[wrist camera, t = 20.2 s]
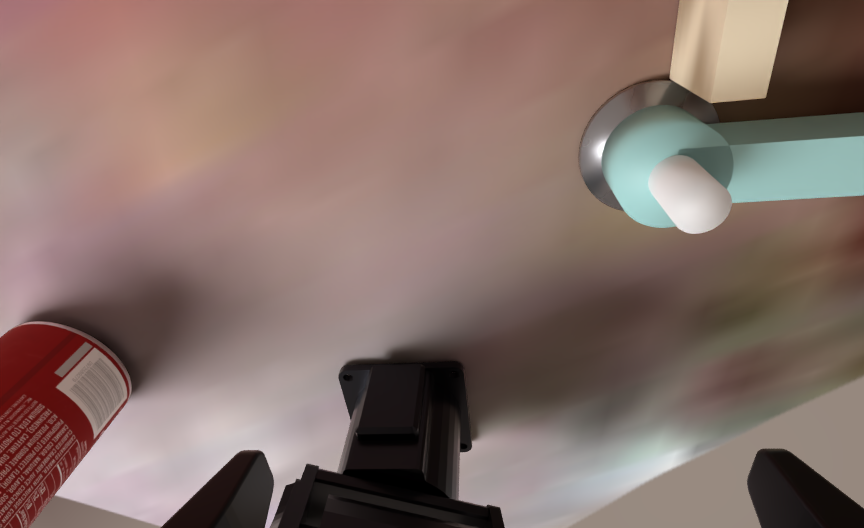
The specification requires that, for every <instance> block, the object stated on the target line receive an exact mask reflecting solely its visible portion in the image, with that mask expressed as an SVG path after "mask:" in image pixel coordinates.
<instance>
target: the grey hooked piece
mask: <svg viewBox="0 0 864 528" xmlns="http://www.w3.org/2000/svg"><path fill="white" fill-rule="evenodd" d="M656 105H670V106H676V107H679V108H682V109H684V110H686V111H687V112H689V113H691V114H692V115H693V116H695V117H696V118H698V119H699V120H701V121H702V122H703V123H705V124H715V123H720V121H719V118H718V115H717V112H716V110H715V108H714V107H713V105H712V104H711V103H709V102H708V101H706V100H704V99H703V98H701V97H699V96H698V95H696V94H694V93H693V92H691V91H689V90H688V89H686V88H684V87H683V86H681V85H679V84H678V83H676V82H674V81H672V80H651V81H645V82H642V83H638V84H635V85H632V86H630V87H628V88H625V89H624V90H622V91H620V92H618V93H617V94H615V95H614V96H613V97H611V98H610V99H608V100H607V101H606V102H605V103H604V104H603V105H602V106H601V107H600V108H599V109H598V110H597V111H596V113H595V114H594V115H593V117H592V118H591V119H590V121H589V123H588V125H587V126H586V128H585V130H584V133H583V136H582V138H581V142H580V147H579V166H580V171H581V174H582V177H583V179H584V181H585V183H586V185H587V187H588V189H589V190H590V191H591V193H592V194H593V195H594V196H595V197H596V198H597V199H599V200H600V201H601V202H603V203H604V204H606V205H608V206H610V207H612V208H615V209H618V210H622V211H624V209H623V208H622V206H621V205H620V203H619V201H618V200H617V198H616V196H615V195H614V193H613V191H612V190H611V188H610V187H609V185H608V183H607V182H606V180H605V177H604V175H603V172H602V165H601V158H602V152H603V149H604V146H605V143H606V141H607V139H608V137H609V136H610V134H611V133H612V131H613V130H614V129H615V128H616V126H617V125H618V124H619V123H620V122H622V121H623V120H624V119H625V118H627V117H628V116H629V115H631V114H633V113H635V112H636V111H639V110H641V109H644V108H647V107H650V106H656Z"/></svg>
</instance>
